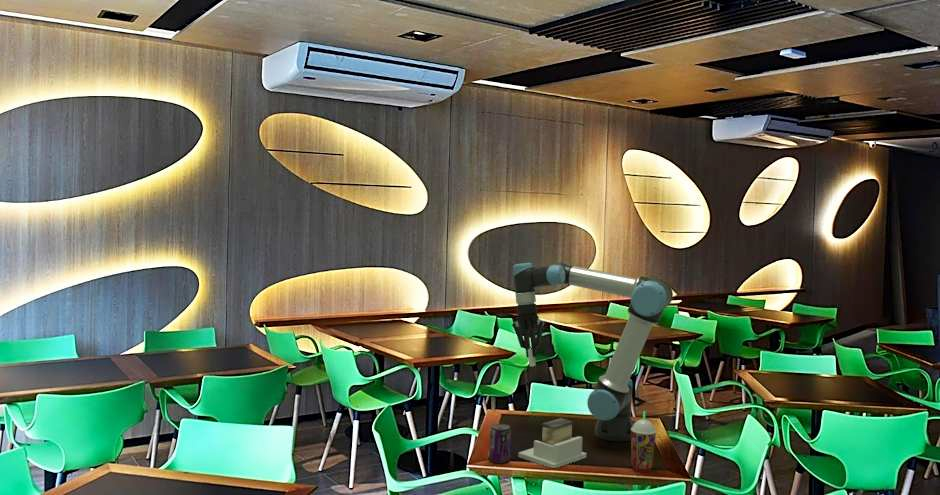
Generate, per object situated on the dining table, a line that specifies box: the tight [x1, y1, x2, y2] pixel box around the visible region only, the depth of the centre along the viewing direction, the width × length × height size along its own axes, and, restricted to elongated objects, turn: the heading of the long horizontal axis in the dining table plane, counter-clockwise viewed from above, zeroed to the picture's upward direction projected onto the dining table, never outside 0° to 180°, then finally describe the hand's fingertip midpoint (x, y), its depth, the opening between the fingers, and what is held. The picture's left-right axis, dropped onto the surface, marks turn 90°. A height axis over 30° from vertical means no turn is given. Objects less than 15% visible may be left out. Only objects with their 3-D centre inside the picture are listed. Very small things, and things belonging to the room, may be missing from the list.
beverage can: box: [489, 423, 512, 464], centre depth 273 cm, size 7×7×12 cm
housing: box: [517, 435, 588, 469], centre depth 278 cm, size 16×18×8 cm
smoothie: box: [630, 410, 657, 473], centre depth 268 cm, size 8×8×20 cm
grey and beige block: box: [541, 417, 574, 446], centre depth 277 cm, size 5×10×11 cm, turn 135°
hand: (532, 365), depth 301 cm, fingers closed
